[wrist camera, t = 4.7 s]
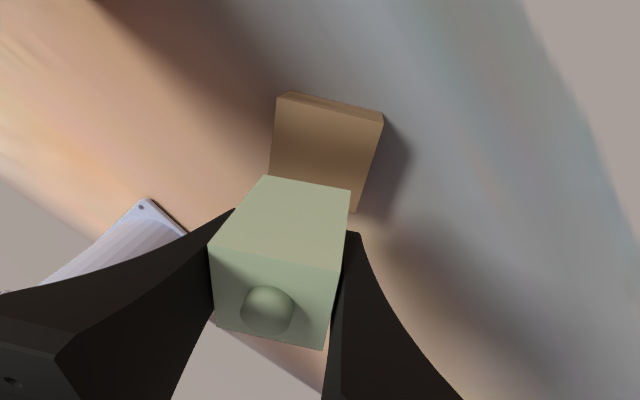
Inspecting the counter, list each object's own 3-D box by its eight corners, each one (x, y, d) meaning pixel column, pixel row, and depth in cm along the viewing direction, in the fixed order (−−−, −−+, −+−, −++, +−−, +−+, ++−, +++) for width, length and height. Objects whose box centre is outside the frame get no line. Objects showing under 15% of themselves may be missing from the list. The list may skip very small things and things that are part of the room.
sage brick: (337, 257, 14) (319, 368, 9) (262, 242, 14) (208, 341, 10) (351, 190, 12) (338, 288, 7) (263, 174, 12) (196, 257, 8)
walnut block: (357, 192, 20) (355, 213, 18) (279, 172, 21) (266, 191, 18) (381, 111, 17) (384, 123, 15) (290, 89, 18) (276, 97, 15)
